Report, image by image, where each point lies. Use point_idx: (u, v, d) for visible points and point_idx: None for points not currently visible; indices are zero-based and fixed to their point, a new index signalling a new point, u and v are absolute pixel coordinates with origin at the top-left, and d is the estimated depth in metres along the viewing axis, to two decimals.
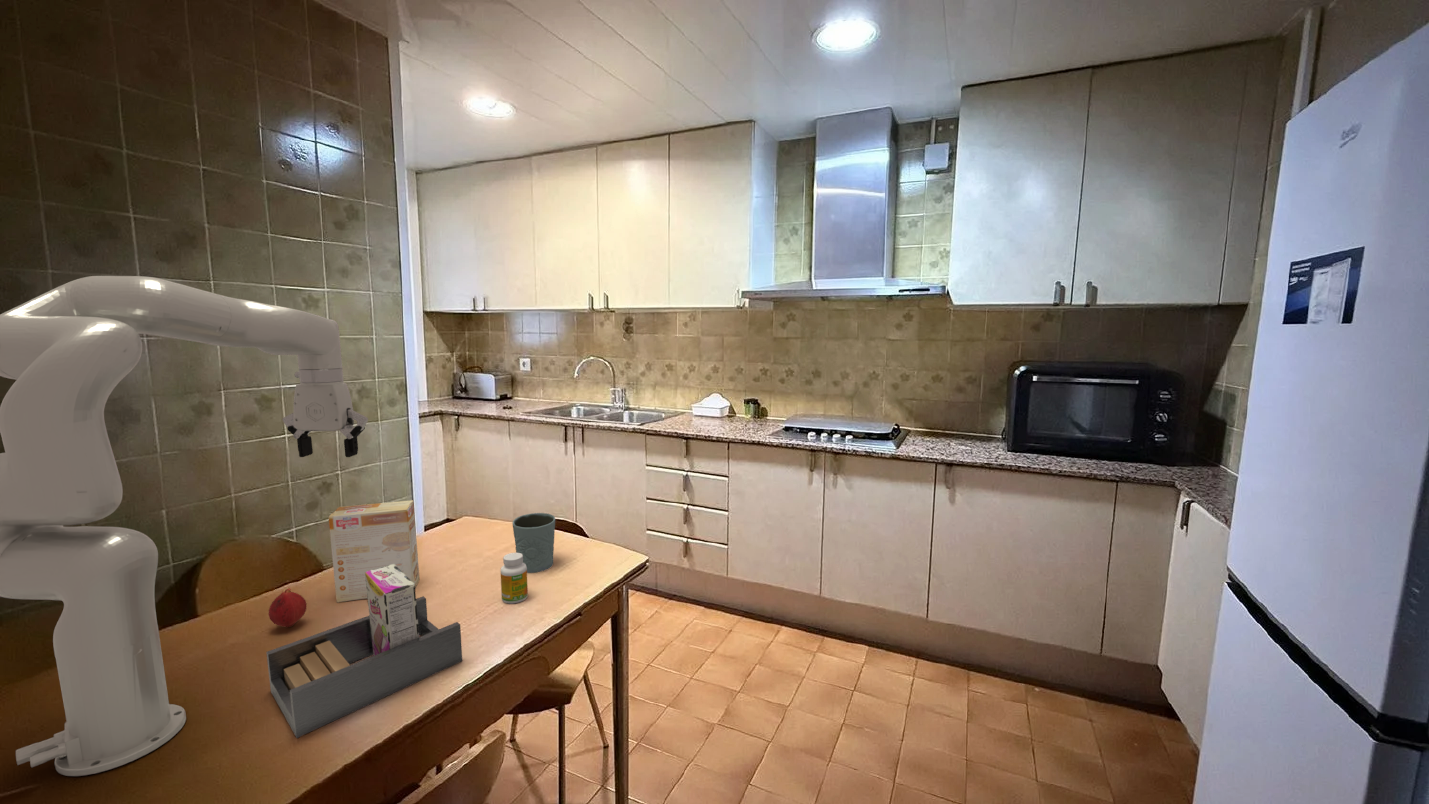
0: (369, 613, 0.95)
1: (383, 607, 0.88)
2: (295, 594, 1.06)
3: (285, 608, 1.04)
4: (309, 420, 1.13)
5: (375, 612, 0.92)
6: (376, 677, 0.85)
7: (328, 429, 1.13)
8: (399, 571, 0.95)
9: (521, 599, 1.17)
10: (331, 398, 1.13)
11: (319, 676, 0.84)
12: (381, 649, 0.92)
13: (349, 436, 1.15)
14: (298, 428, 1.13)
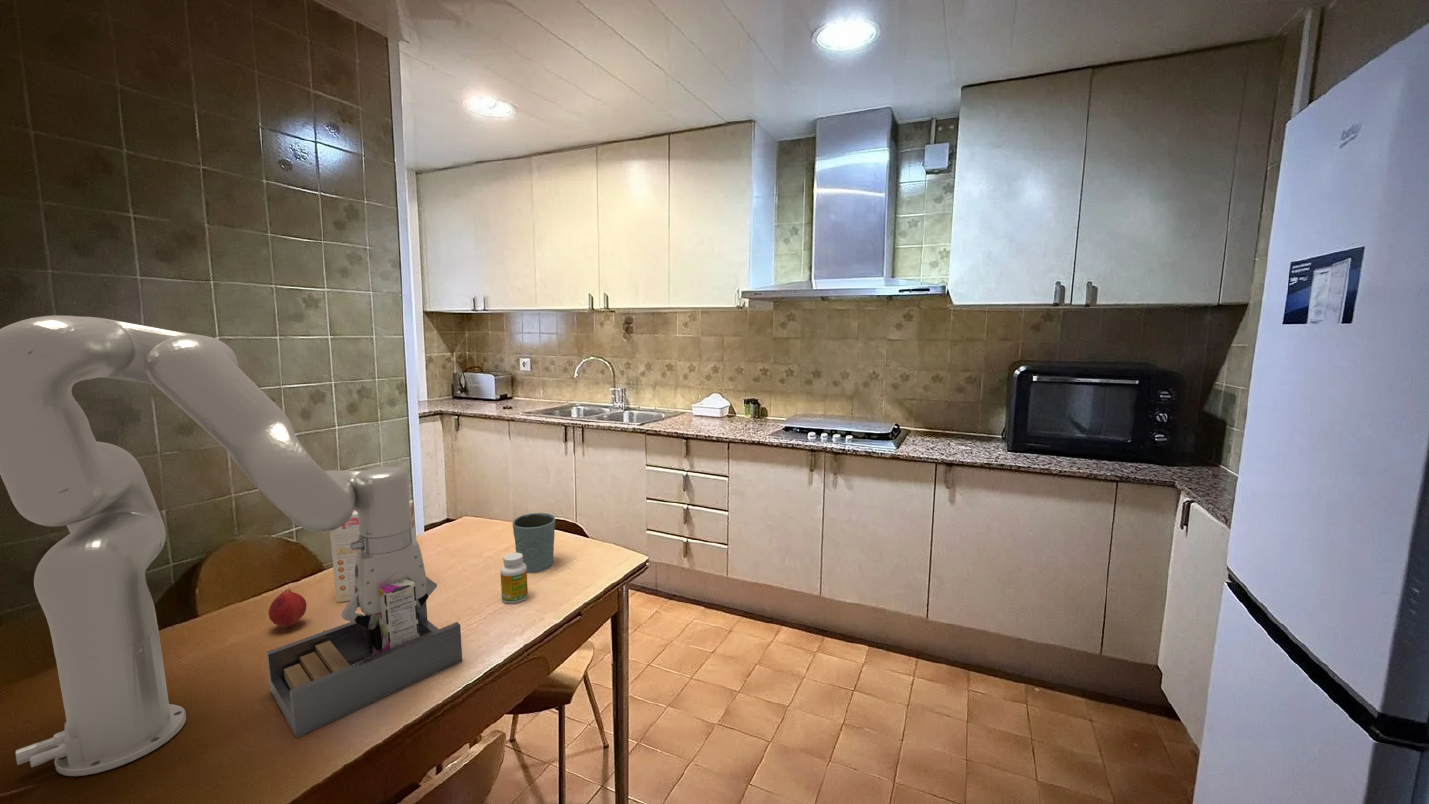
0: None
1: (383, 607, 0.88)
2: (295, 594, 1.06)
3: (285, 608, 1.04)
4: None
5: None
6: (376, 677, 0.85)
7: None
8: None
9: (521, 599, 1.17)
10: (416, 560, 0.93)
11: (319, 676, 0.84)
12: (381, 649, 0.92)
13: (417, 609, 0.96)
14: (371, 612, 0.89)
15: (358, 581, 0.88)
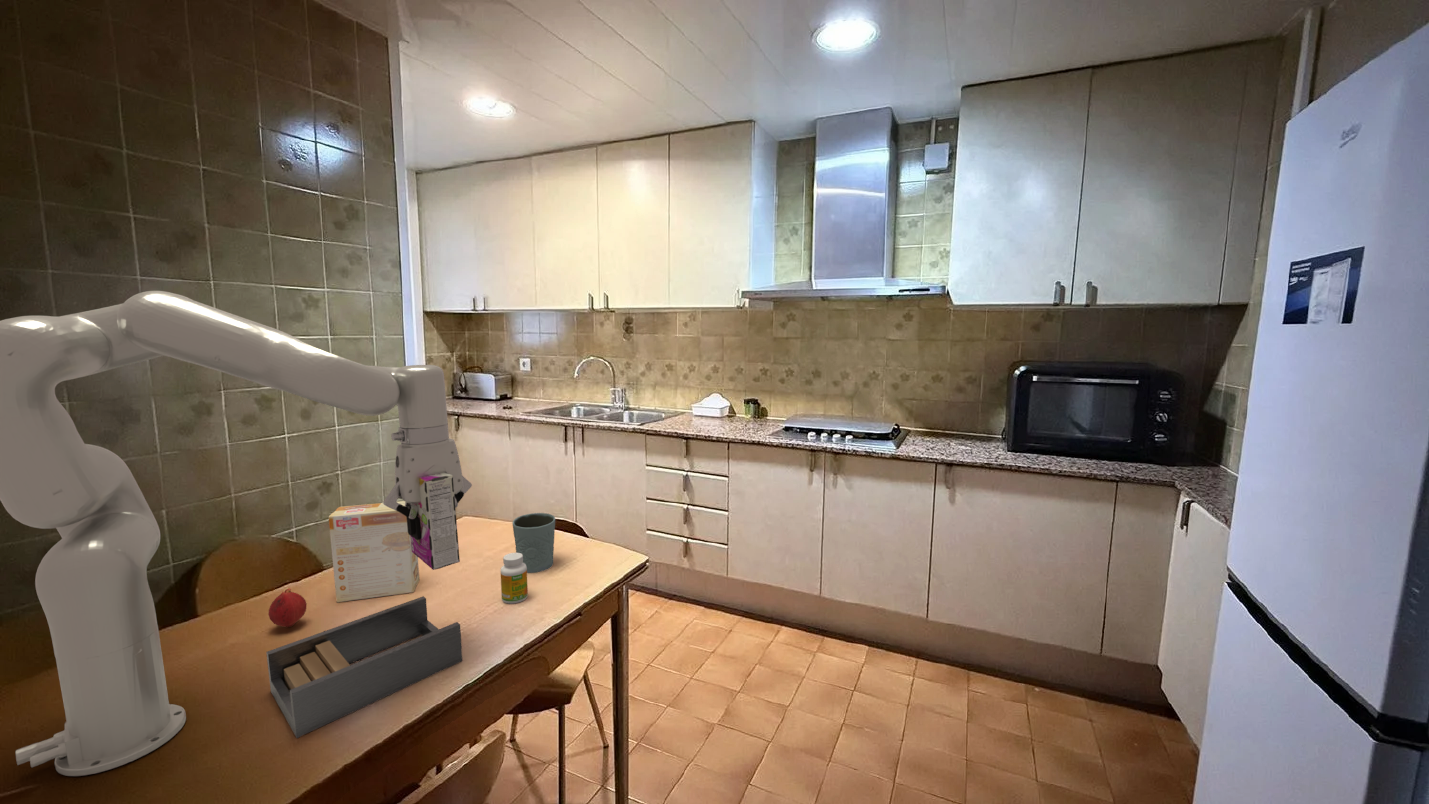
0: None
1: (423, 495, 0.92)
2: (295, 594, 1.06)
3: (285, 608, 1.04)
4: None
5: None
6: (376, 677, 0.85)
7: None
8: None
9: (521, 599, 1.17)
10: (453, 456, 0.97)
11: (319, 676, 0.84)
12: (421, 539, 0.96)
13: None
14: (412, 501, 0.92)
15: (399, 470, 0.92)
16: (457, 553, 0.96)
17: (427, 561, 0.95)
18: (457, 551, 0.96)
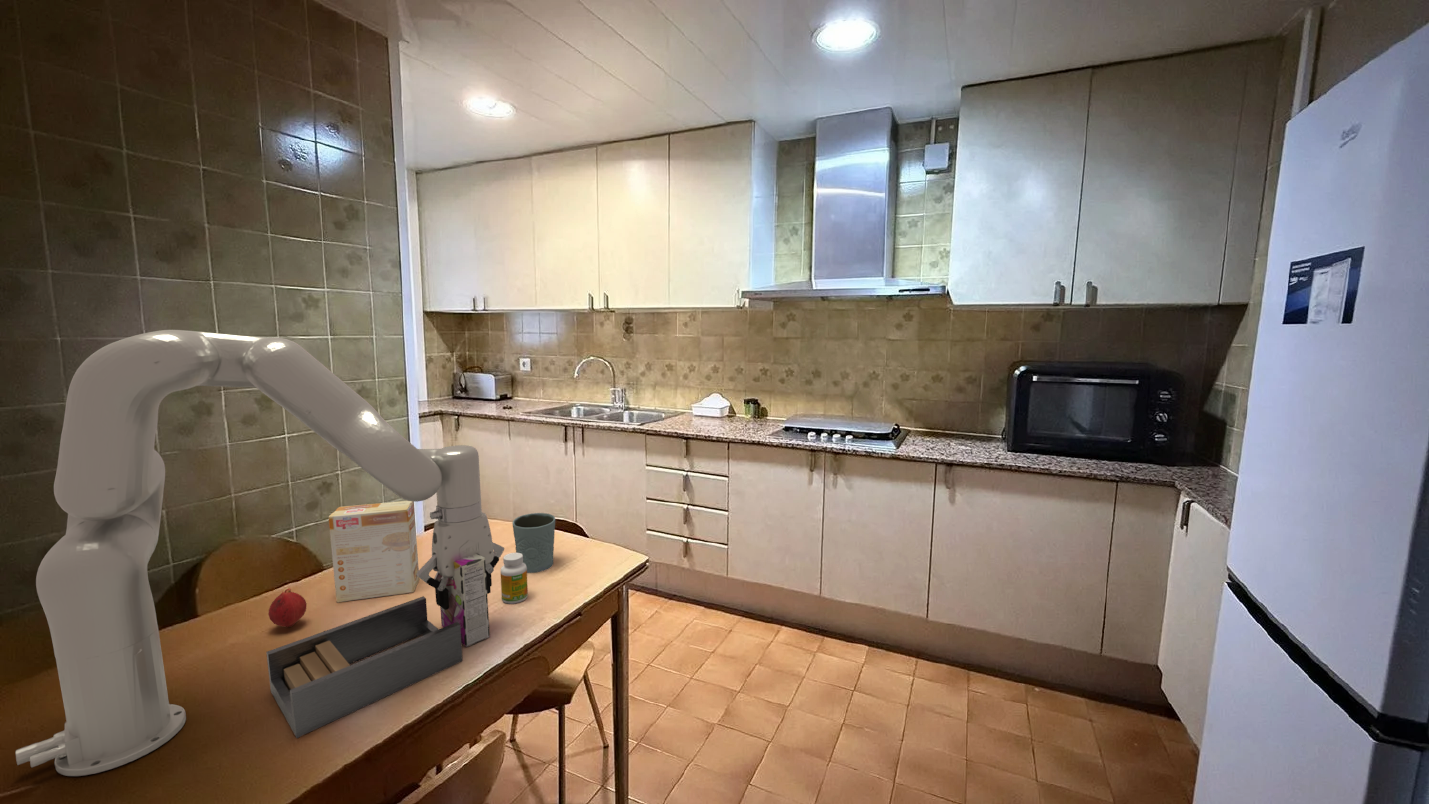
0: None
1: (458, 578, 0.99)
2: (295, 594, 1.06)
3: (285, 608, 1.04)
4: None
5: (448, 584, 1.02)
6: (376, 677, 0.85)
7: None
8: None
9: (521, 599, 1.17)
10: (485, 530, 1.04)
11: (319, 676, 0.84)
12: (453, 617, 1.02)
13: (490, 570, 1.07)
14: (448, 575, 0.99)
15: (437, 547, 0.98)
16: (488, 629, 1.03)
17: None
18: (487, 627, 1.03)
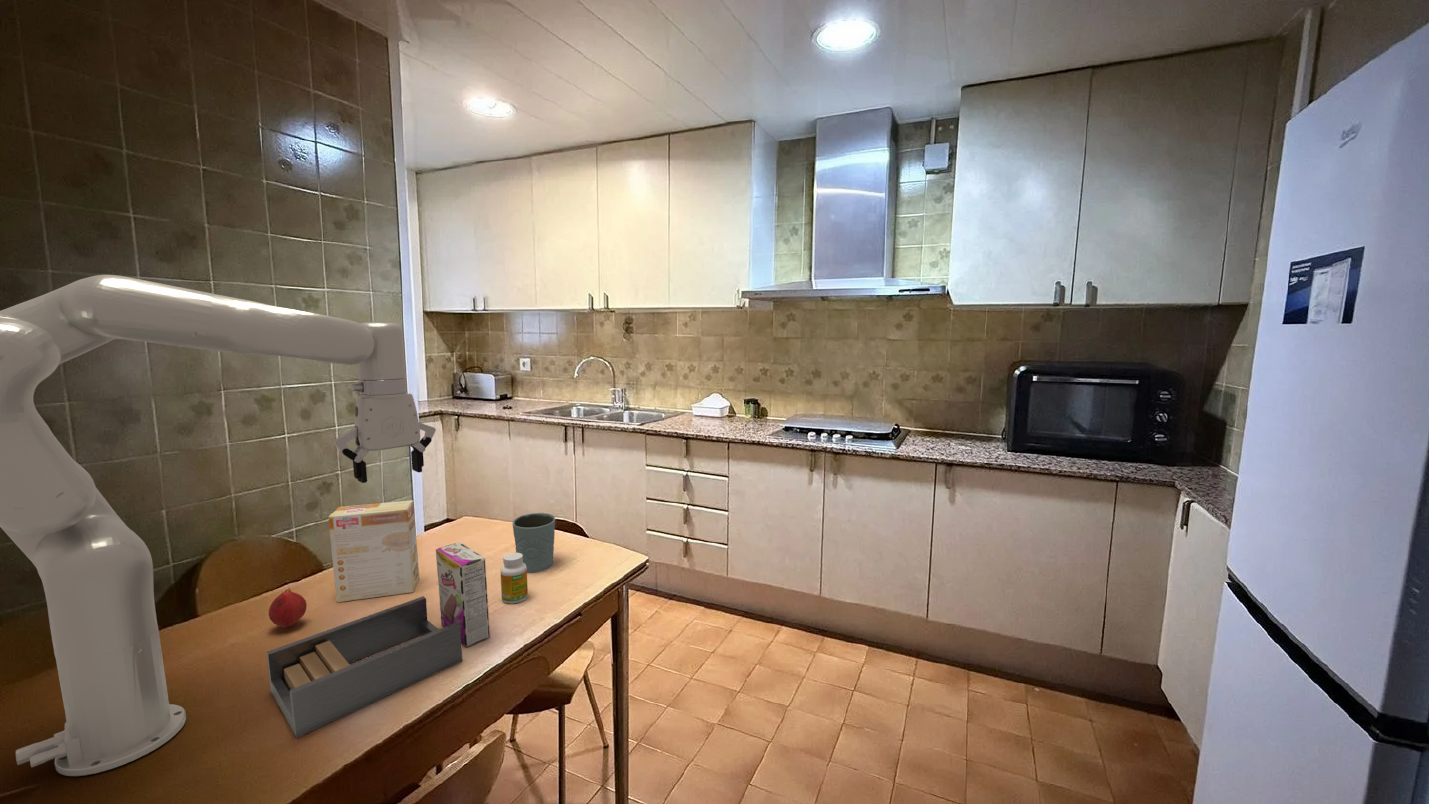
0: (439, 586, 1.05)
1: (458, 578, 0.99)
2: (295, 594, 1.06)
3: (285, 608, 1.04)
4: (384, 437, 1.00)
5: (448, 584, 1.02)
6: (376, 677, 0.85)
7: (406, 444, 1.03)
8: (467, 548, 1.05)
9: (521, 599, 1.17)
10: (410, 409, 1.04)
11: (319, 676, 0.84)
12: (453, 617, 1.02)
13: (422, 449, 1.07)
14: (370, 448, 0.99)
15: (358, 419, 0.98)
16: (488, 629, 1.03)
17: None
18: (487, 627, 1.03)
